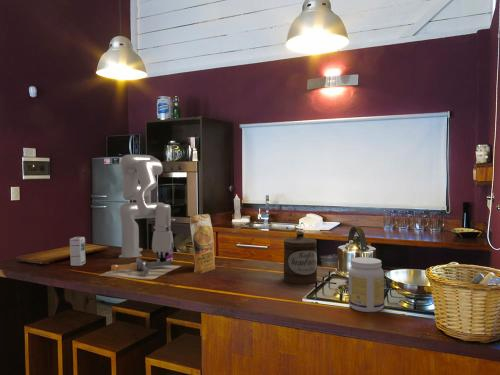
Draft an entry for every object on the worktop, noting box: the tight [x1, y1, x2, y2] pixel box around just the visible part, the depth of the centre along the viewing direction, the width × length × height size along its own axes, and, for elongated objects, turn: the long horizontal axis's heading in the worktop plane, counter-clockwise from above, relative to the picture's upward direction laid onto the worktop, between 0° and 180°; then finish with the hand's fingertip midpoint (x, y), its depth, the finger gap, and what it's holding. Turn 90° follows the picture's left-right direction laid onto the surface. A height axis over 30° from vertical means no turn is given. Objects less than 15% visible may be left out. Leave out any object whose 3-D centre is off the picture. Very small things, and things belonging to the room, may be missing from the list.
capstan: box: [110, 257, 172, 274], centre depth 192 cm, size 28×28×4 cm
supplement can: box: [156, 253, 174, 263], centre depth 213 cm, size 8×8×15 cm
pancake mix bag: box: [188, 213, 216, 275], centre depth 195 cm, size 7×19×28 cm, turn 148°
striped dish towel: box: [99, 262, 181, 281], centre depth 192 cm, size 28×28×2 cm
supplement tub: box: [348, 256, 385, 313], centre depth 140 cm, size 12×12×17 cm
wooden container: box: [283, 230, 318, 285], centre depth 178 cm, size 15×15×22 cm
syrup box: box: [69, 236, 87, 267], centre depth 211 cm, size 6×6×14 cm
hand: (163, 264), depth 199 cm, fingers closed
